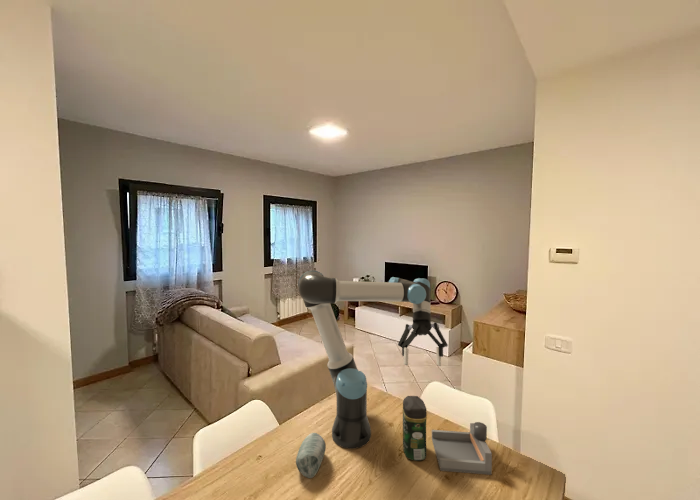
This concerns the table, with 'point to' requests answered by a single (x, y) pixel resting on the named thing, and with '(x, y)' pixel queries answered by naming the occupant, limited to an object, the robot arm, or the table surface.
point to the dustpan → (463, 450)
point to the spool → (310, 455)
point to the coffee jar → (414, 428)
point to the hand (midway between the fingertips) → (421, 365)
